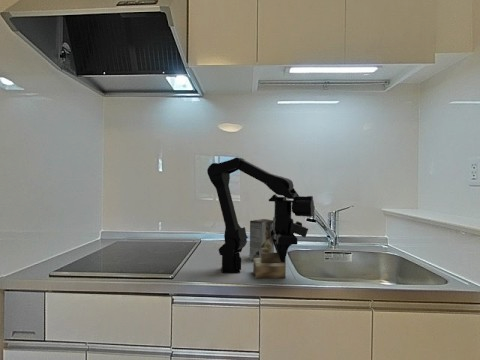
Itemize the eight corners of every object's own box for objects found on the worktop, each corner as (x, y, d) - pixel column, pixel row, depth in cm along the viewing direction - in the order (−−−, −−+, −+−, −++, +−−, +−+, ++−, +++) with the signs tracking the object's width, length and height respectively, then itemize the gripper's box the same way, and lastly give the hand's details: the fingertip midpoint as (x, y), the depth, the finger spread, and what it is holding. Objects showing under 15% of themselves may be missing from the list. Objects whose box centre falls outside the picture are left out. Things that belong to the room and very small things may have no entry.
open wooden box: (256, 278, 124) (256, 266, 123) (253, 272, 131) (253, 260, 131) (285, 278, 124) (285, 266, 124) (280, 271, 132) (281, 260, 132)
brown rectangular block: (262, 262, 124) (262, 253, 124) (261, 261, 126) (261, 252, 126) (285, 262, 124) (285, 253, 124) (284, 261, 126) (284, 252, 126)
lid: (256, 266, 124) (256, 251, 124) (253, 260, 132) (253, 246, 131) (285, 266, 124) (286, 251, 124) (281, 260, 132) (281, 246, 132)
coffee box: (261, 256, 158) (262, 218, 158) (274, 258, 154) (274, 220, 154) (248, 259, 151) (249, 220, 151) (261, 262, 147) (262, 221, 147)
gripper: (313, 218, 116) (312, 267, 117) (299, 212, 135) (298, 255, 135) (278, 218, 116) (278, 267, 116) (269, 212, 134) (268, 255, 134)
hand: (282, 261), depth 125 cm, fingers closed on brown rectangular block, 2 cm apart
